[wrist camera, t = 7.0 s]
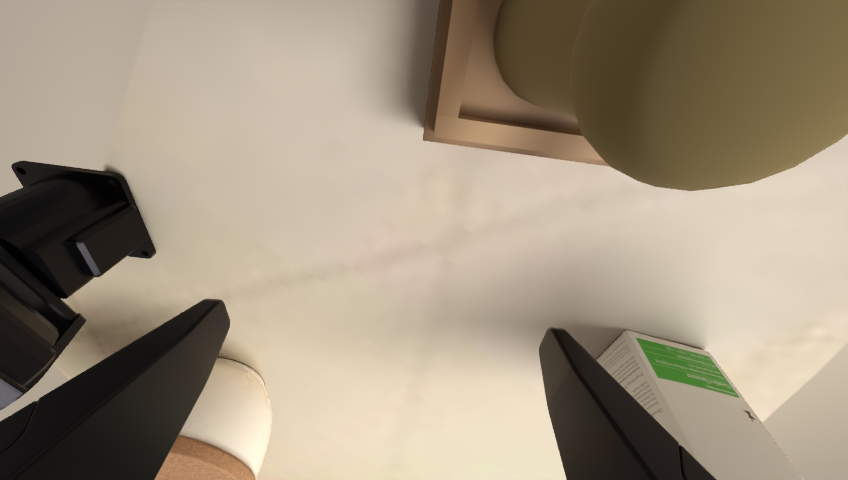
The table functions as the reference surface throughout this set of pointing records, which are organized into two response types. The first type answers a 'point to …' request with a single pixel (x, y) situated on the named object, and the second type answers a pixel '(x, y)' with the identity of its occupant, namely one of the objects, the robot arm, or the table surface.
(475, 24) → the square wooden tray
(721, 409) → the skincare box
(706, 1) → the olive pear-shaped figure
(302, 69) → the table surface
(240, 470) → the lidded bowl
